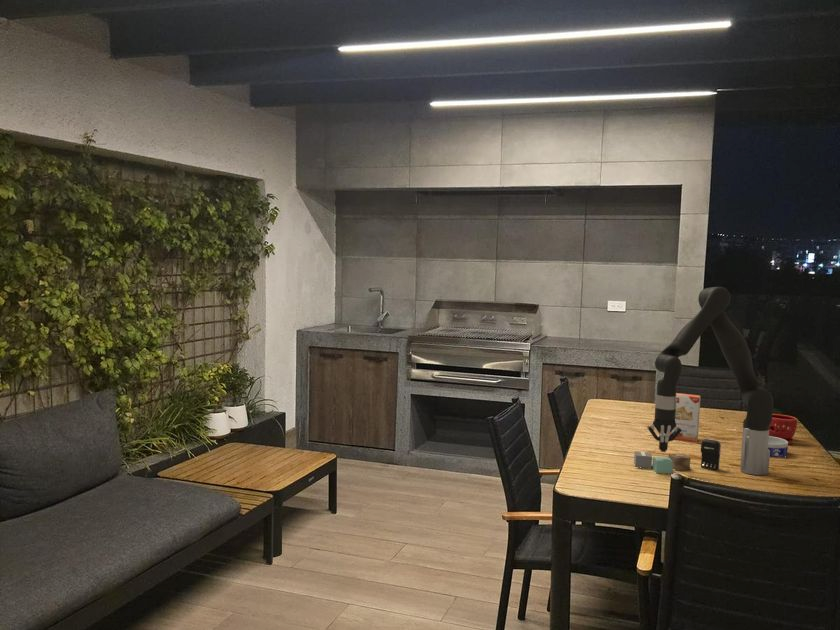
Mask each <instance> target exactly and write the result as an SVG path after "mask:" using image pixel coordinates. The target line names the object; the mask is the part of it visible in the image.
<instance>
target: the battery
mask: <svg viewBox="0 0 840 630" xmlns="http://www.w3.org/2000/svg"><path fill="white" fill-rule="evenodd" d="M721 449H722V443H721V442H720V441H719V440H717V439H712V438H711V439H710V438H705V439H703V440H702V441H701V443H700V453H701V460H700V467H701V468H703V469H708V470H713V471H717V470H720V461H721V452H722V450H721Z"/></svg>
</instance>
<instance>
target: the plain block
mask: <svg viewBox="0 0 840 630" xmlns="http://www.w3.org/2000/svg"><path fill="white" fill-rule="evenodd" d="M651 470H653V471H654V472H656V473H655V474H657V473H668V474H667V475H673V471H674V469H673V461H672V460H671V459H670V458H669V456H668V457H667V456H652V467H651ZM669 473H670V474H669Z"/></svg>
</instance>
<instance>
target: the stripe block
mask: <svg viewBox="0 0 840 630" xmlns="http://www.w3.org/2000/svg"><path fill="white" fill-rule="evenodd" d="M633 458H634V459H633V465H634V464H635V465H634V468H635V467H641V468H640V469H643V468H651V469H652V465H653V456H652V454H651V452H645V451H634V457H633Z"/></svg>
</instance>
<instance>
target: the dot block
mask: <svg viewBox="0 0 840 630" xmlns="http://www.w3.org/2000/svg"><path fill="white" fill-rule="evenodd" d="M668 457H669V458H670V459H671V460H672V461H673V470H674V469H675V470H674V471H690V470H691V457H690V456H688V455H686V454H684V453H668Z"/></svg>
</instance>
